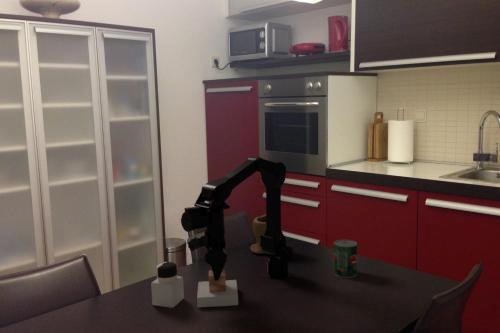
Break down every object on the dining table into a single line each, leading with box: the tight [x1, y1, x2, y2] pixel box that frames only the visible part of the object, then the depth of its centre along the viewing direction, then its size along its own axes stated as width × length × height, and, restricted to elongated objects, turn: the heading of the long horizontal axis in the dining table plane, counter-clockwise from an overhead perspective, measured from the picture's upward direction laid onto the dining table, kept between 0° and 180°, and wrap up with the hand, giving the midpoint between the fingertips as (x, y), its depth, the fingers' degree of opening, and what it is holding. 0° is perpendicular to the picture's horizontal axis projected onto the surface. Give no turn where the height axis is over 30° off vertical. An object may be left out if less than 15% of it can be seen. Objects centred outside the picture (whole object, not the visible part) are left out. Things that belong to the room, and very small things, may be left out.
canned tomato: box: [333, 239, 358, 279], centre depth 157 cm, size 8×8×11 cm
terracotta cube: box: [208, 269, 227, 292], centre depth 140 cm, size 5×5×5 cm
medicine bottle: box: [150, 261, 185, 309], centre depth 138 cm, size 7×7×12 cm
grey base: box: [196, 279, 239, 308], centre depth 140 cm, size 12×12×3 cm
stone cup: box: [250, 213, 266, 254], centre depth 182 cm, size 15×12×15 cm
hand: (216, 274), depth 140 cm, fingers open, 9 cm apart
